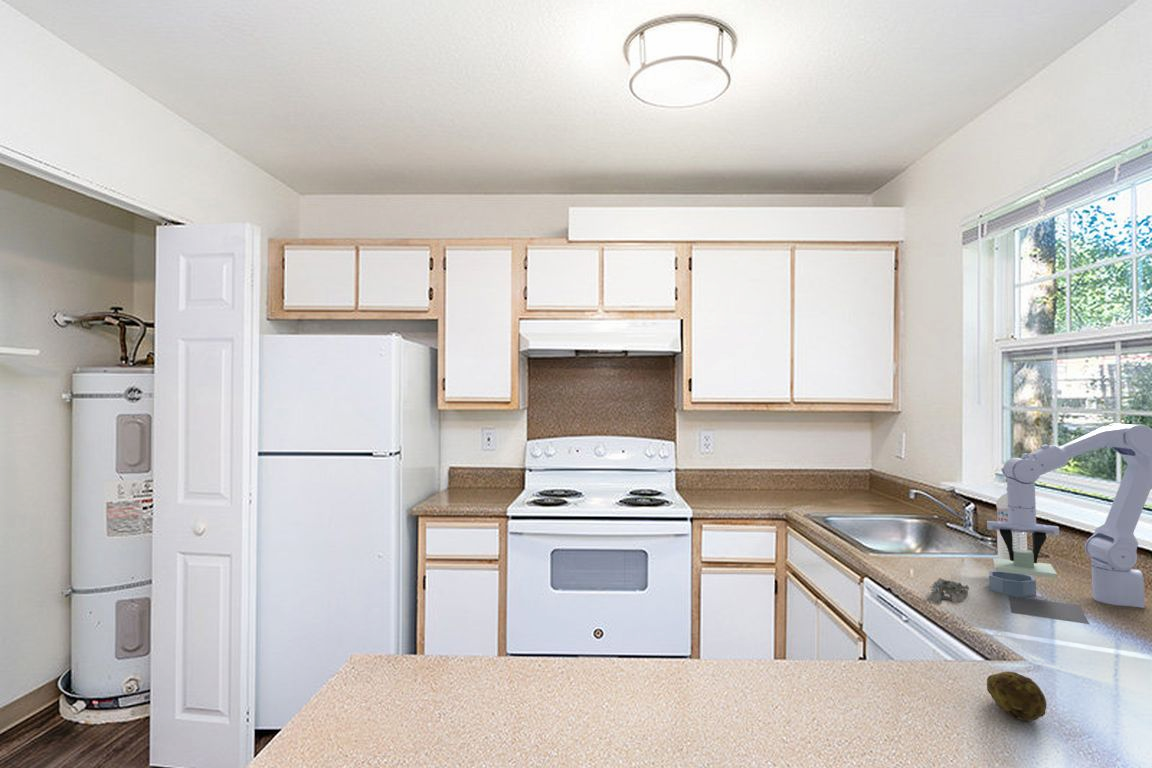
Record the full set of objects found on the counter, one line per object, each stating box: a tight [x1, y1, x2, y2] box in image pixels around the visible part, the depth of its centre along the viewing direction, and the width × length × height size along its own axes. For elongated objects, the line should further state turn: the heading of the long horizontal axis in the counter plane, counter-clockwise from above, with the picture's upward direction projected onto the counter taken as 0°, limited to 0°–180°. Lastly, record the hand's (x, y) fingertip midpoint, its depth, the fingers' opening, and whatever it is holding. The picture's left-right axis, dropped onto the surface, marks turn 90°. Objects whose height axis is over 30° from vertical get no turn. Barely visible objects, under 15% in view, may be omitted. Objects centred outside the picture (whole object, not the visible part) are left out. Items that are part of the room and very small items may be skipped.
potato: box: [986, 671, 1047, 723], centre depth 99 cm, size 8×13×8 cm, turn 141°
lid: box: [992, 549, 1058, 579], centre depth 154 cm, size 12×12×4 cm
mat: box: [1008, 595, 1090, 625], centre depth 146 cm, size 14×14×1 cm
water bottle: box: [995, 492, 1028, 560], centre depth 173 cm, size 7×7×25 cm
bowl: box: [988, 570, 1037, 598], centre depth 160 cm, size 10×10×4 cm
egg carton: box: [929, 577, 970, 603], centre depth 157 cm, size 11×8×4 cm
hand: (1023, 561), depth 155 cm, fingers closed on lid, 4 cm apart
